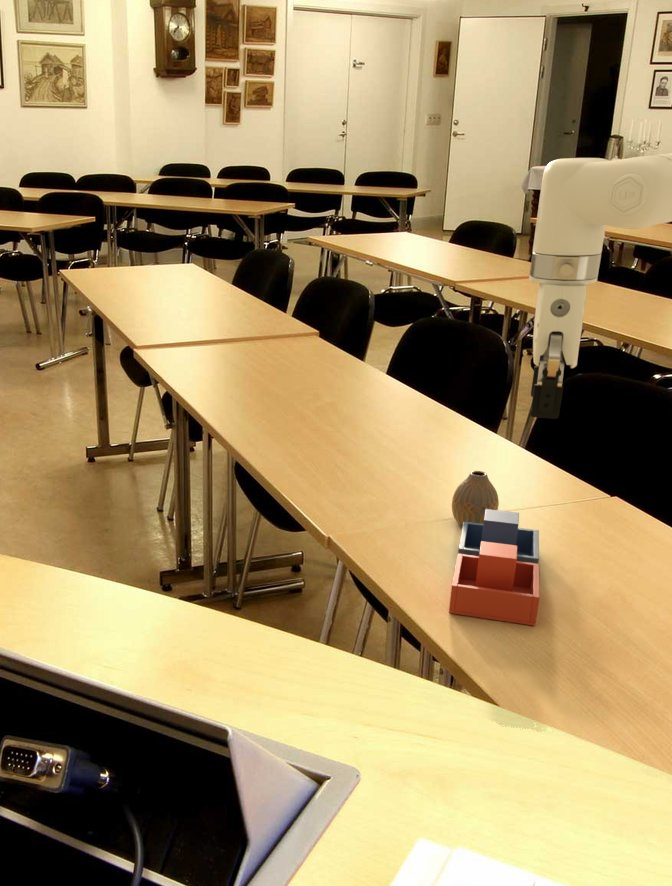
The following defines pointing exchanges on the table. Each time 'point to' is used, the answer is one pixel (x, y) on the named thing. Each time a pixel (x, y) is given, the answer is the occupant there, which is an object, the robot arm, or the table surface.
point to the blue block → (500, 527)
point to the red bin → (495, 593)
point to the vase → (474, 498)
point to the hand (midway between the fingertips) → (543, 406)
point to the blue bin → (525, 542)
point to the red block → (496, 566)
